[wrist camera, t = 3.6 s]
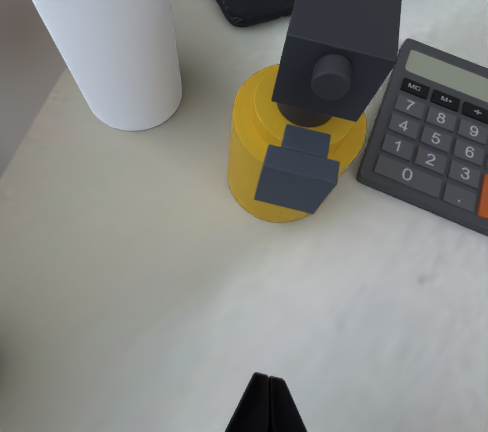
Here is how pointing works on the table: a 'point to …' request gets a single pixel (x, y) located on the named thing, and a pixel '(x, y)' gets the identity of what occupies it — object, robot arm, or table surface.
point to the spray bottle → (313, 89)
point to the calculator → (433, 136)
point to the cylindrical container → (119, 57)
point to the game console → (254, 10)
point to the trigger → (298, 171)
